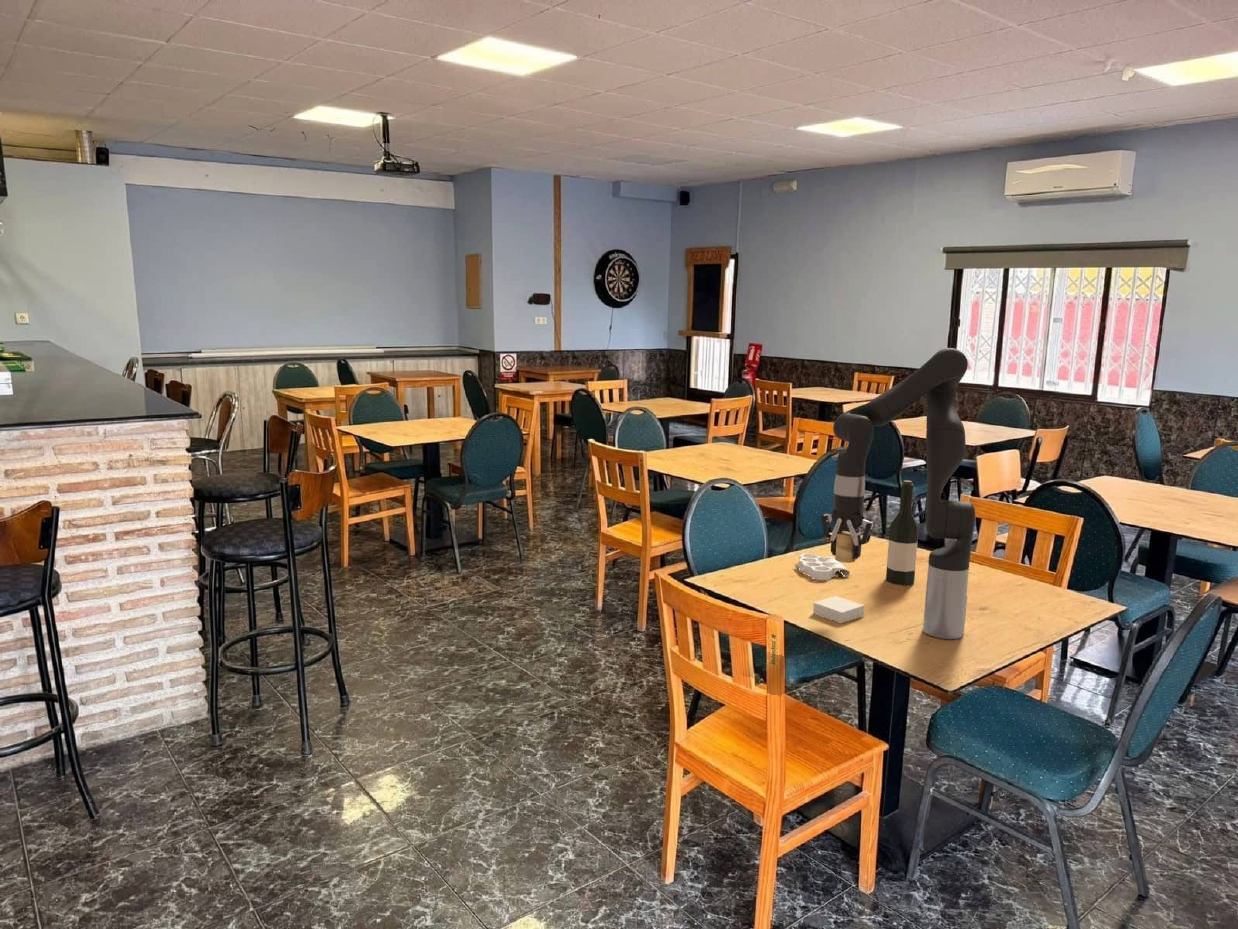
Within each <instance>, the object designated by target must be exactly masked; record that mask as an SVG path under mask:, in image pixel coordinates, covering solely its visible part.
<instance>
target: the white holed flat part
mask: <svg viewBox="0 0 1238 929" xmlns="http://www.w3.org/2000/svg"><path fill="white" fill-rule="evenodd" d="M793 565H794V566H795V567H797V568H798V572H801V573H802V572H803V573H805V574H807V575H810V576H811V577H810V576H809V577H810V579H811V578H814V579H817V580H816V581H818V580H827V581H830V580H832V578H831V577H833V578H839V577H838V576H837V575H838V574H837V573H836V572H838V570H840V572H842V573H843V575H845V577H844V578H848V577H849V576H851V575H850V574H851V572H850V570H849V569H847V568H846V567H845V565H844V564H842V562H839V561H836V560H835V557H832V556H821V555H817V554H814V553H803V554H799V557H798V562H797V563H794V564H793ZM799 568H800V570H799ZM840 572H839V573H840ZM835 573H836V574H837V575H836V574H835ZM807 575H806V576H807ZM834 576H835V577H834ZM814 579H813V580H814ZM829 579H830V580H829Z"/></svg>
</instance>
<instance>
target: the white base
mask: <svg viewBox="0 0 1238 929" xmlns="http://www.w3.org/2000/svg"><path fill="white" fill-rule="evenodd" d="M864 611H865V605H864V604H861V603H858V602H855V601H852V600H849V599H846V598H844V597H840V596H837V595H834V596H831V597H827V598H824V599H821V600H818V601H815V602H813V611H812V614H813V613H815V614H814V615H816V614H817V615H816V616H818V615H819V616H818V617H821V616H823V617H822V618H824V617H825V618H824V619H826V620H829V619H832V620H834V621H833V622H835V621H837V622H836V623H838V624H840V623H843V624H845V623H844V622H846V623H848V622H850V621H849V620H851V621H853V620H852V619H854V620H857V619H860V618H862V616H863V617H864ZM859 617H860V618H859ZM856 618H857V619H856ZM832 620H831V621H832ZM847 621H848V622H847Z"/></svg>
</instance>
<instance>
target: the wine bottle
mask: <svg viewBox="0 0 1238 929" xmlns="http://www.w3.org/2000/svg"><path fill="white" fill-rule="evenodd" d="M900 490H901V491H900V499H899V500H900V502H899V512H898V513H897V514H896V516H895V517H894V518H893V520H892V521H891V523H890V525H889V532H888V533H889V534H888V546H887V547H888V548H887V559H886V562H887V563H886V573H885V582H887V583H890V584H893V585H896V586H903V587H906V586H913V585H914V583H915V577H916V564H917V553H918V552H917V551H918V539H919V528H920V527H919V524H918V523H917V521H916V519H915V517H914V515H913V513H912V510H913V509H912V507H913V496H914V495H913V494H914V483H913V481H912V480H908V479H907V480H906V479H905V480H903V482H902V483H901V488H900Z"/></svg>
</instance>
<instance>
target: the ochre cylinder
mask: <svg viewBox="0 0 1238 929" xmlns="http://www.w3.org/2000/svg"><path fill="white" fill-rule="evenodd" d="M853 545H854V542H853V538H852V537H851V534H850V532H847V531H842V532H839V533H837V538H836V554H835V556H834V558H835V560H836V561H839V562H840V563H844V564H845V563H846V564H851V563H855V562H856V560H855V559H853Z"/></svg>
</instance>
